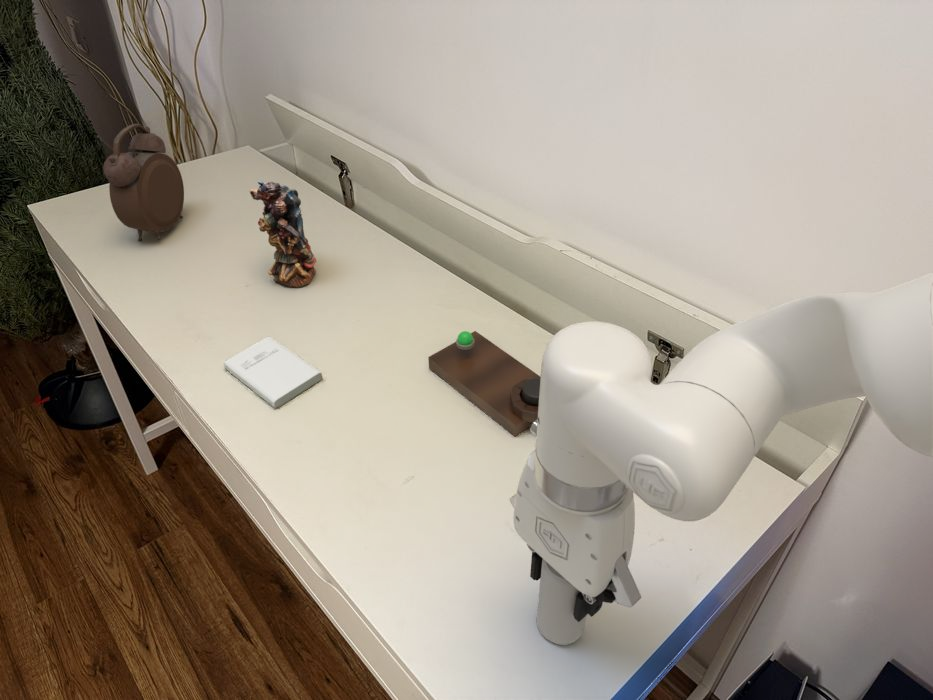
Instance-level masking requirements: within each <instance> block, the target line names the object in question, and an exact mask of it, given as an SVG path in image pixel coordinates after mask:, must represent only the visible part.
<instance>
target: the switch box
mask: <svg viewBox="0 0 933 700" xmlns="http://www.w3.org/2000/svg"><path fill="white" fill-rule="evenodd" d="M470 333H471V334H472V336H473V338H474V341H475V344H474V346H473V347H472V348H471V349H467V350H463V349H460V348H458V347H457V345H456V341H454V342H452V343H450V344H449V345H447V346H445V347H444V348H441V349H440V350H438V351H437V352H435V353H433V354H431V355H429V356H428V357H427V358H428V369H429V370H430V371H431V372H432V373H434V374H436V376H438V378H441V380H442V381H444V382H445V383H446V384H447V385H449V386H450V387H452V389H454V390H455V391H457V392H458V393H459V394H461V396H463V397H464V398H465V399H467V400H468V401H469V402H471V403H472V404H473V405H474V406H476V407H477V408H478V409H479V410H480V411H482V412H483V413H484V414H485V415H486V416H488V417H489V418H490V419H492V421H494V422H495V423H497V424H498V425H499V426H500V427H502V428H503V429H505V431H507V432H508V433H510V434H511V435H512V436H513V437H514V438H515V437H516V438H517V437H518V436H519V435H521V434H522V433H523V432H525V431H527V430H528V429H530V428H531V425H532V424H533V422H534V421H535V420H537V419H538V407H539V406H538V407H534V406H530V405H528V404H526V403H525V402H524V401H523V399H522V386H523V384H524V382H525V381H527V380H529V379H533V378H538V379H541V375H539V374H538V373H536V372H535V371H533V370H532V369H530V368H529V367H528V366H526V365H525V364H523V363H522V362H521V361H519V360H517V359H516V357H513V356H512V355H510V354H509V353H507V351H504V350H503V349H502V348H500V347H499V346H498V345H497V344H495V343H493V341H490V340H489V339H488V338H486V337H485V336H483V335H482V334H481V333H479V332H478V331H476V330H474V331H472V332H470Z"/></svg>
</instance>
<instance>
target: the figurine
mask: <svg viewBox="0 0 933 700" xmlns="http://www.w3.org/2000/svg"><path fill="white" fill-rule="evenodd" d="M257 184H258V185H259V186H258V189H256V188H253V189H252V188H251V189H250V190H249V193H250V196H251V197H252V200H254V201H262V204H263V205H264V206H263V211H262V217H260V218H259V219H258V221H257V225H258V227H259V231H260V232H263V233H265V232H266V233H267V235H268V240H267V242H268V244H269V246H271V247H275V251H274V253H273V260H274V262H273V263H272V266H271V267H270V268H269V270H268V271H267V274H268V275H269V276H273V279H272V280H273V282H275V283H276V284H278V285H280V286H284V287H286V288H300V287H303V286H305V285H308V284H310V282H312V280H313V278H314V276H315V274H316V268H315V264H317V259H316V257H315V254H314V253H313V251H312V248H311V245H310V243H309V240H308V239H307V238H306V235H305V231H304V220H303V219H304V218H303V216H302V215H303V214H302V209H301V208H300V207H301V204H302V201H301V199H300V197H299V192H298V190H297V189H295V188H292V189H290V187H289V186H287V185H285V184H282V183H280V182H275V181H266V182H265V180H258V181H257Z"/></svg>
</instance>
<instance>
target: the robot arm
mask: <svg viewBox="0 0 933 700" xmlns="http://www.w3.org/2000/svg"><path fill="white" fill-rule="evenodd" d="M652 373H653V362H652V357H651V354H650V352H649V349H648V348H647V346H646V345H645V344H644V342H643V341H642V339H641V338H639V337H638V336H637V335H636V334H635V333H634V332H632V331H630V330H628V329H627V328H625V327H622V326H621V325H620V326H619V325H618V324H614V323H610V322H606V321H605V322H604V321H597V320H595V321H593V320H590V321H582V322H577V323H572V324H570V325H568V326H565V327H564V328H562V329H560V330H558V331H557V332H556V333H555V334H554V335H553V336H552V337H551V338H550V339H549V341H548V342H547V343H546V346H545V348H544V351H543V353H542V357H541V367H540V377H541V379H540V393H539V407H538V419H537V420H535V421H534V422H533V424H532V425H531V427H529V431H530V432H531V433H532V434H533V435H534V437H535V449H534V450H533V451H532V452H531V453H530V454H529V456H527V457H528V458H527V460H526V462H525V464H524V467H523V469H522V472H521V475H520V477H519V480H518V483H517V488H516V493H515V494H513V495H512V496H511V497H509V502H510V505H511V506H512V507H513V526H514V527H513V528H514V530H515V532H516V533H517V535H518V536H519V537H520V538H521V540H522V541H523V542H524V543H525V544H526V546H527V547H528V549H529V550H530V551H531V561H530V573H529V577H530V578H531V579H532V580H533V581H536V582H537V581H539V580H540V579H541V569H542V558H543V559H544V560H545V561H546V562H547V563H548V564H549V565H550V566H552V567H553V568H554V569H555V570H556V571H557V572H558V573H559V574H560V575H562V576H563V577H564V578H565V579H566V580H567V581H568V582H569V583H571V584H572V585H573V586H574V587H575V588H576V589H578V590H579V591H580V592H579V593H578V594H577V596H576V601H575V607H574V613H573V616H574V618H575V619H576V620H577V621H578V622H580V621H581V620H582V619H583V618H584V617H585V616H586V617H587V615H588V616H590V617H591V618H592V617H594V616H595V615H596V614H597V613H598V612H599V611H600V610H601V608H602V607H603V603H607V604H612V603H613V602H616V604H617V605H620V606H624V607H627V608H632V607H634V605H636V604H637V603H638V602H639V601H640V600H641V599H642V595H641V593H640V590H639V588H638V586H637V584H636V581H635V579H634V577H633V575H632V572H631V570H630V569H629V564H630V561H631V557H632V551H633V546H634V539H635V528H636V527H635V526H636V507H635V497H634V494H635V495H636V497H638V498H639V499H640V500H641V501H642V502H644V503H645V504H646V505H647V506H649V507H650V508H652V509H653V510H655V511H657V512H658V513H659V514H661V515H663V516H665V517H668V518H670V519H671V520H672V519H673V520H676V521H680V522H698V521H700V520H704V519H706V518H708V517H710V516H711V515H712V514H714V513H715V512H716V511H717V510H718V509H719V508H720V507H721V506H722V505H723V503H724V502H725V501H726V500H727V498H728V496H729V495H730V494H731V492H732V491H733V489H734V488H735V486H737V483H738V482H739V480H740V479H741V477H742V476H743V474H744V473H745V472H746V470H747V469H748V467H749V466H750V464H751V463H752V461H753V460H754V458H755V456H756V455H757V454H758V452H759V451H760V449H761V448H762V446H763V445H764V443H765V442H766V441H767V439H768V438H769V436H770V434H771V433H772V432H773V431H774V429H775V428H776V427H777V425H778V424H779V422H780V421H781V419H783V418H785V417H788V416H789V415H792V414H795V413H798V412H801V411H804V410H808V409H811V408H814V407H819V406H822V405H826V404H830V403H833V402H837V401H842V400H847V399H853V398H860V397H861V398H863V397H865V398H866V400H867V402H868V404H869V405H870V408H871V409H872V410H873V412H874V414H875V415H876V416H877V417H878V419H879V421H881V423H882V424H883V425H884V426H885V428H886V429H888V431H889V432H890V433H891V434H892V435H893V436H894V437H895V438H896V439H897V440H898V441H899V442H901V443H902V444H903V445H905V447H908V448H909V449H911V450H913V451H915V452H917V453H919V454H921V455H923V456H926V457H931V458H933V271H931V272H929V273H927V274H923V275H921V276H919V277H916V278H913V279H911V280H908V281H904V282H903V283H900V284H897V285H894V286H892V287H888V288H884V289H882V290H879V291H875V292H871V291H845V292H835V293H818V294H811V295H807V296H803V297H798V298H796V299H791V300H790V301H786V302H784V303H782V304H779V305H776V306H774V307H771V308H769V309H766V310H763V311H761V312H759V313H757V314H754V315H752V316H750V317H747V318H745V319H742V320H740V321H737V322H736V323H734V324H730V325H729V326H727V327H724V328H721V329H720V330H718V331H716V332H715V333H713V334H711V335H709V336H708V337H706V338H705V339H703V340H702V341H700V342H699V343H697V344H696V345H695V346H694V347H692V349H691V350H689V352H688V353H687V354H686V355H684V356H683V358H682V359H680V360H679V361H678V363H677V364H676V365H675V366H674V367H673V368H672V369H671V370H670V371H669V372H668V374H667V375H666V376H665V377H664V378H663V379H662V380H661V382H659V384H654V383H653V382H652V375H653V374H652Z"/></svg>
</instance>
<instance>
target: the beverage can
mask: <svg viewBox="0 0 933 700" xmlns="http://www.w3.org/2000/svg"><path fill="white" fill-rule="evenodd" d="M539 580H540V581H539V588H538V589H539V590H538V591H539V592H538V600H537V609H536V610H537V611H536V626H537V630H538V631H539V633H540V634H541V635H542V636H543V637H544V638H545V639H547V640H548V642H551V643H553V644H556V645H560V646H565V645H570V644H573V643H575V642H576V641H578V640H579V639H580V638H581V636H582V635H583V633H584V629H585V627H586V620H587V615H586V616H585V617H584V618H583V619H582V620H581V621H580V622H578V621H577V620H576V619H575V618H574V616H573V613H574V607H575V601H576V596H577V594H578V593H579V592H580V591H579V590H578V589H576V588H575V587H574V586H573V585H572V584H571V583H569V582H568V581H567V580H566V579H565V578H564V577H563V576H562V575H560V574H559V573H558V572H557V571H556V570H555V569H554V568H553V567H552V566H550V565H549V564H548V563H547V562H546V561H545V560H544V559H543V558H542V569H541V578H540V579H539Z"/></svg>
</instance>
